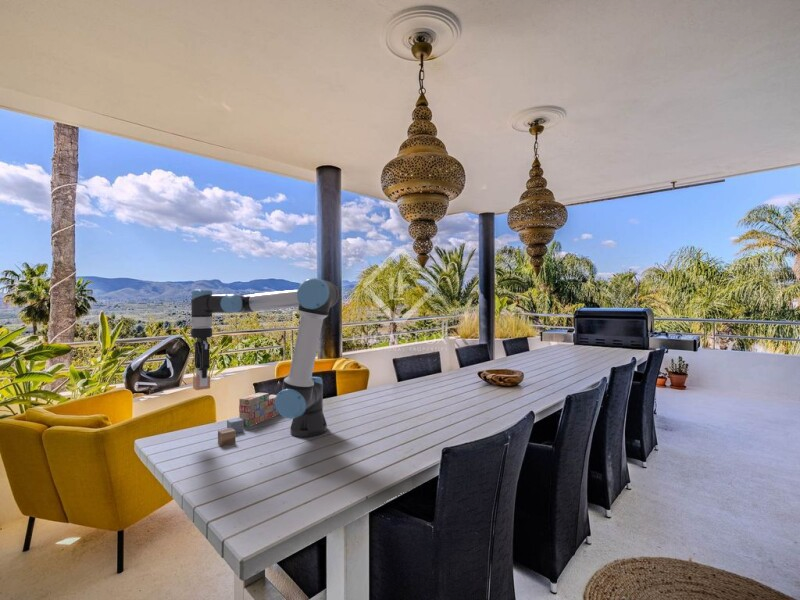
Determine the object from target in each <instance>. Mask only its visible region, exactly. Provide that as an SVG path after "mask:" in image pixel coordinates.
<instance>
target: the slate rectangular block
mask: <svg viewBox="0 0 800 600" xmlns="http://www.w3.org/2000/svg"><path fill="white" fill-rule="evenodd" d="M227 428H233V429H234V430H235V431H236V434H238V432H239V433H243V432H244V426H243V420H242V419H241V418H239V417H235V418H230V419H227V420H226V429H227ZM242 431H243V432H242Z"/></svg>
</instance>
